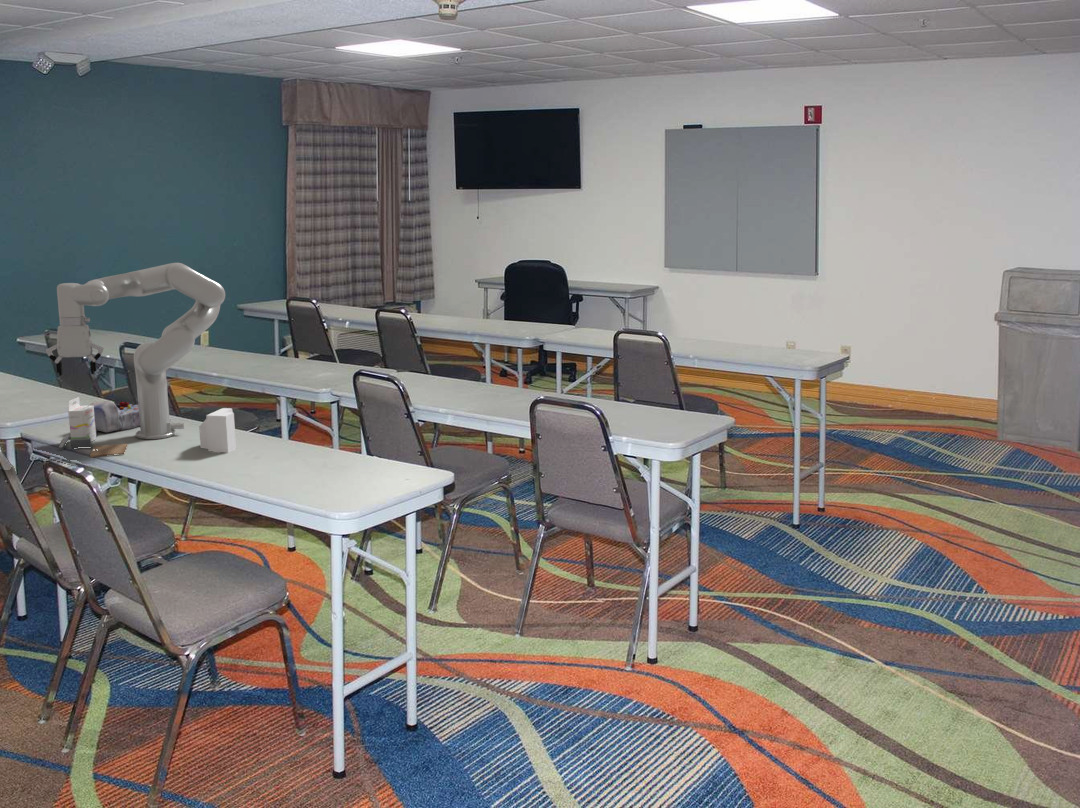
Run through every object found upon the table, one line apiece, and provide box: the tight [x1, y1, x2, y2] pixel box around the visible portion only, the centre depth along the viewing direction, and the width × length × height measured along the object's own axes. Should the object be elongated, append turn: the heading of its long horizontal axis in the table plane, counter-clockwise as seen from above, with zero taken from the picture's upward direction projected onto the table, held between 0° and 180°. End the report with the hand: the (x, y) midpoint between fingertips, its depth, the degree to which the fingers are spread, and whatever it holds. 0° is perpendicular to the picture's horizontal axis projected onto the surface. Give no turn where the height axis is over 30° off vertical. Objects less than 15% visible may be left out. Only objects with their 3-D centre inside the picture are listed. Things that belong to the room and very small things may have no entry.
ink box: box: [67, 396, 97, 442], centre depth 345 cm, size 9×5×15 cm, turn 179°
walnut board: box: [89, 443, 128, 458], centre depth 336 cm, size 10×12×1 cm
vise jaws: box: [57, 427, 98, 451], centre depth 346 cm, size 10×17×3 cm, turn 16°
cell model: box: [87, 400, 140, 433], centre depth 366 cm, size 13×11×20 cm
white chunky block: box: [198, 407, 237, 454], centre depth 339 cm, size 11×11×12 cm
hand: (77, 374), depth 342 cm, fingers open, 9 cm apart
